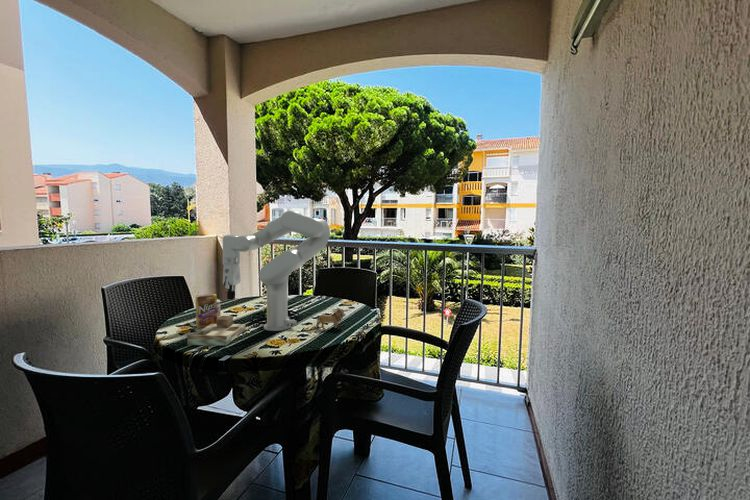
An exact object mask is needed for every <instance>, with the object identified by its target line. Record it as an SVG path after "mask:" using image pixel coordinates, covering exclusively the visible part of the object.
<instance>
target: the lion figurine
mask: <svg viewBox="0 0 750 500" xmlns="http://www.w3.org/2000/svg"><path fill="white" fill-rule="evenodd" d="M344 317H345V311H344V309H343V308H338V309H337V310H336V311H335V312H333V313H332V314H330V315H329V314H320V315H319V316H318V318H317V320H316V325H315V327H314V329H316V328H317V327H320V328H322V330H323V329H325V328H326V327H324V326H325V322H326V323H331V324H333V327H334V326H335V327H334V328H335V329H336V328H337V327H338V323H339V322H341V321H342V320H343V318H344ZM325 330H326V329H325Z"/></svg>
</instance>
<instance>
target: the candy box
mask: <svg viewBox="0 0 750 500" xmlns="http://www.w3.org/2000/svg"><path fill="white" fill-rule="evenodd" d="M217 299H218V298H217V294H216V293H208V294H198V295H197V294H196V295H195V325H196V329H204V328H205V327H207V326H208V325H210V324H216V319H217Z"/></svg>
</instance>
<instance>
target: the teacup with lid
mask: <svg viewBox="0 0 750 500" xmlns="http://www.w3.org/2000/svg"><path fill="white" fill-rule="evenodd" d="M221 316H222V315H221V300H220V299H218V298H217V319H218V318H219V317H221Z"/></svg>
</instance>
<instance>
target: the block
mask: <svg viewBox="0 0 750 500" xmlns="http://www.w3.org/2000/svg"><path fill="white" fill-rule="evenodd" d="M220 316H221V317H219V318H218V319H216V324H217V328H229V327H230V326H232V325H233V324H234V316H233V315H220Z"/></svg>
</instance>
